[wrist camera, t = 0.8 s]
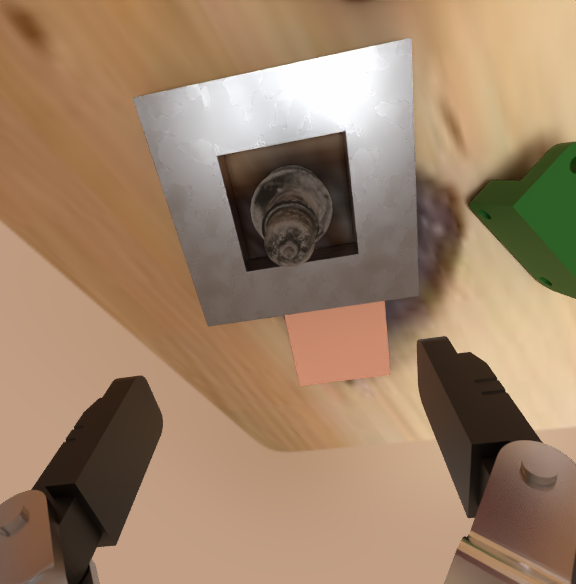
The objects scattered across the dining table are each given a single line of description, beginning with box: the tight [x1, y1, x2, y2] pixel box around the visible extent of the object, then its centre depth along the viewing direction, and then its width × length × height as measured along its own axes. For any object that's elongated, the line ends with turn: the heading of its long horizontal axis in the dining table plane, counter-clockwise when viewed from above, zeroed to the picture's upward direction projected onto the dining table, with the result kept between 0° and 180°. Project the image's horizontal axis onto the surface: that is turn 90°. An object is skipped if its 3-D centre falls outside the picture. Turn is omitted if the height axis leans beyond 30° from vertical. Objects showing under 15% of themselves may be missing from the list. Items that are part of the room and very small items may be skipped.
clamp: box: [469, 142, 576, 299], centre depth 28 cm, size 12×6×9 cm, turn 43°
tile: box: [285, 301, 390, 386], centre depth 36 cm, size 9×9×1 cm
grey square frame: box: [133, 38, 419, 326], centre depth 29 cm, size 18×18×2 cm
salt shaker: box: [250, 165, 333, 267], centre depth 25 cm, size 6×6×12 cm
